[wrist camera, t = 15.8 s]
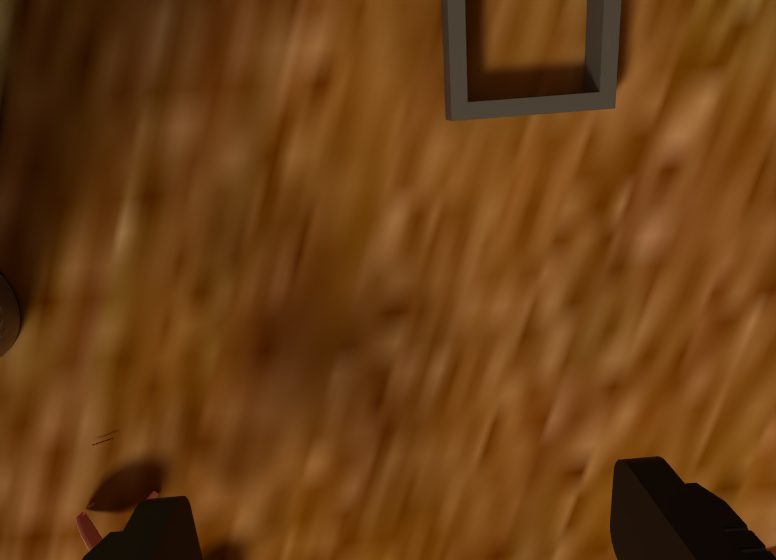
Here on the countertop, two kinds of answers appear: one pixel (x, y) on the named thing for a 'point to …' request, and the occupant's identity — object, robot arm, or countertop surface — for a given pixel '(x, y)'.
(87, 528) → the figurine
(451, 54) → the grey holder
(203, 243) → the countertop surface
